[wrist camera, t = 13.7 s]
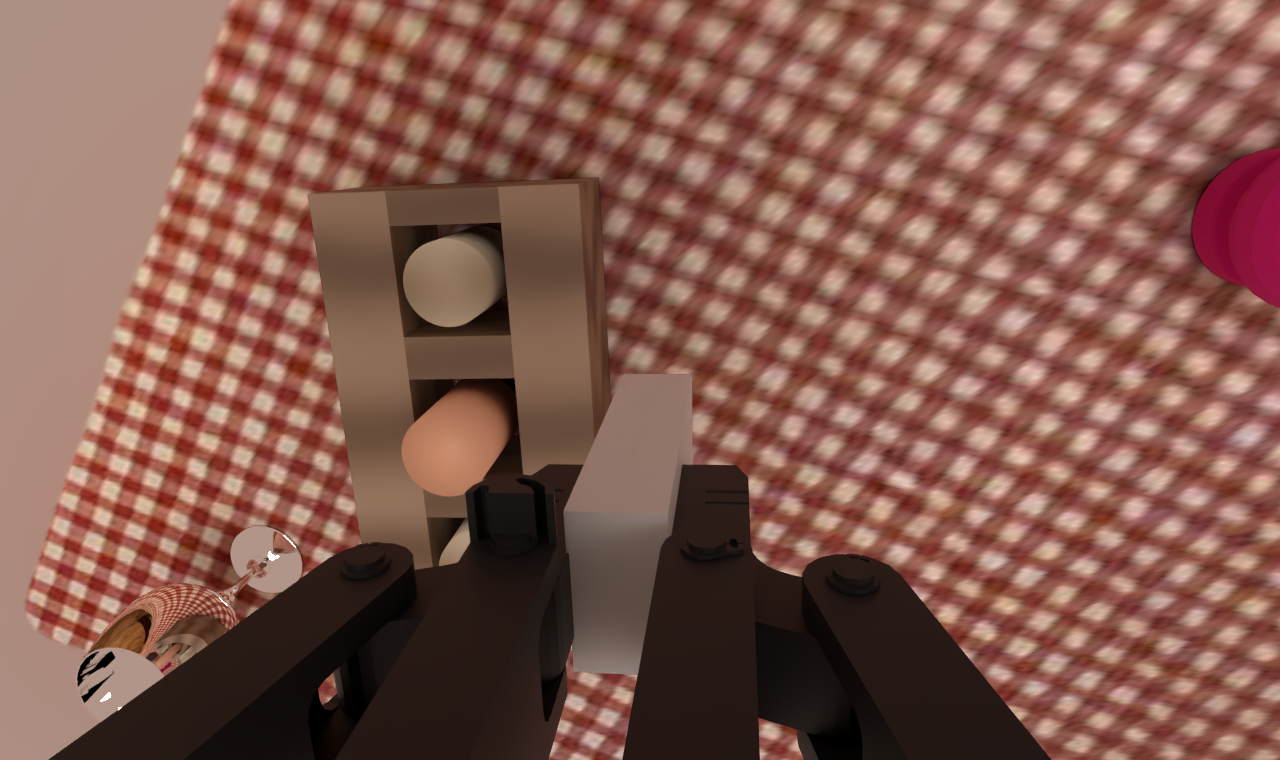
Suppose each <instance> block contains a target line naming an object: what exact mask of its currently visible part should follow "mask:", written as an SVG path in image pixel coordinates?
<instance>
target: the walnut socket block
mask: <svg viewBox="0 0 1280 760" xmlns="http://www.w3.org/2000/svg"><path fill="white" fill-rule="evenodd" d="M308 199H309V206H310V212H311V219H312V225H313V231H314V238H315V244H316V251H317V257H318V264H319V270H320V277H321V283H322V290H323V296H324V303H325V309H326V316H327V322H328V329H329V335H330V342H331V348H332V355H333V361H334V368H335V374H336V381H337V387H338V394H339V400H340V407H341V413H342V420H343V426H344V432H345V439H346V445H347V452H348V458H349V465H350V471H351V478H352V484H353V491H354V497H355V504H356V510H357V517H358V523H359V530H360V536H361V543H362V544H364V543H368V544H370V543H371V542H381V543H395V544H398V545H400V546H403V547H406V548H407V549H408V550H409V551H410V552H411V553H412V554H413V558H414V566H415V570H416V569H423V568H429V567H436V566H439V561H440V557H441V555H442V553H443V551H444V550H445V548H446V547H447V545H448V544H449V542H450V541H451V539H452V538H453V536H454V535H455V533H456V532H457V530H458V529H459V527H460V526H461V524H462V523H463V521H464V520H465V518H468V516H467V507H466V497H465V494H462V495H458V496H450V497H449V496H440V495H436V494H433V493H431V492H428V491H426V490H425V489H423V488H422V487H420V486H419V485H418V484H417V483H416V482H415V481H414V480H413V479H412V478H411V477H410V475H409V474H408V472H407V470H406V468H405V466H404V463H403V460H402V452H401V450H402V442H403V439H404V436H405V434H406V432H407V431H408V429H409V428H410V427H411V426H412V425H413V424H414V423H415V422H416V421H417V420H418V419H419V418H420V417H421V416H422V415H423V414H425V413H426V412H427V411H428V410H429V409H430V408H431V407H432V406H433V405H434V404H435V403H436V402H437V401H439V400H440V399H441V398H442V397H443V396H444V395H445V394H446V393H447V392H448V391H449V390H450V389H452V388H453V387H454V379H487V378H515V387H516V398H517V409H518V421H519V432H520V435H513V436H512V438H511V439H510V440H509V442H508V443H507V445H506V446H505V448H504V449H503V450H502V452H501V453H500V455H499V456H498V458H497V459H496V460H495V462H494V463H493V465H492V466H491V468H490V469H489V470H488V472H487V473H486V475H485V476H484V478H483V479H482V480H481V481H483V480H486V479H489V478H493V477H498V476H502V475H514V474H524V475H533V474H534V473H536V472H537V471H539V470H540V469H542V468H543V467H545V466H546V465H548V464H574V465H584V463H585V461H586V459H587V456H588V454H589V452H590V450H591V447H592V445H593V443H594V440H595V438H596V436H597V434H598V431H599V429H600V427H601V425H602V422H603V420H604V418H605V415H606V413H607V411H608V409H609V406H610V404H611V391H610V373H609V354H608V336H607V317H606V299H605V280H604V262H603V243H602V225H601V206H600V188H599V178H577V179H551V180H526V181H500V182H475V183H449V184H424V185H398V186H373V187H360V188H352V189H344V190H336V191H329V192H321V193H313V194H308ZM472 223H501V229H502V241H503V252H504V263H505V274H506V286H507V297H508V308H509V310H485V311H484V312H482V313H481V314H480V315H478V316H477V317H475V318H474V319H473V320H471V321H470V322H468V323H466V324H463V325H461V326H456V327H443V326H438V325H435V324H432V323H430V322H428V321H426V320H425V319H423V318H422V317H421V316H419V315H418V314H417V313H416V312H415V310H414V309H413V308H412V307H411V305H410V303H409V302H408V300H407V297H406V295H405V291H404V286H403V273H404V269H405V266H406V263H407V261H408V259H409V258H410V256H411V255H412V254H413V253H414V251H415V250H417V249H418V248H419V247H421V246H422V245H424V244H426V243H429V242H432V241H435V240H437V239H438V233H437V225H442V224H472Z"/></svg>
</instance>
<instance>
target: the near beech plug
mask: <svg viewBox="0 0 1280 760" xmlns="http://www.w3.org/2000/svg"><path fill="white" fill-rule="evenodd" d="M403 286H404V291H405V295H406V297H407V300H408V302H409V303H410V305H411V307H412V308H413V309H414V310H415V312H416V313H417V314H418V315H419V316H421V317H422V318H423V319H425V320H426V321H428V322H430V323H432V324H435V325H438V326H443V327H456V326H461V325H463V324H466V323H468V322H470V321H471V320H473V319H474V318H475V317H477V316H478V315H480V314H481V313H482V312H484V311H485V310H486V309H488V308H489V307H491V306H492V305H493V304H495V303H496V302H497V301H499V300H500V299H502V298H503V297H504V296H506V295H507V286H506V274H505V263H504V252H503V241H502V232H501V231H499V230H497V229H494V228H491V227H486V226H478V227H472V228H469V229H466V230H463V231H460V232H458V233H455V234H452V235H449V236H446V237H443V238H440V239H437V240H435V241H432V242H429V243H426V244H424V245H422V246H421V247H419V248H418V249H417V250H415V251H414V253H413V254H412V255H411V256H410V258H409V259H408V261H407V263H406V266H405V269H404V273H403Z"/></svg>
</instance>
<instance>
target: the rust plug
mask: <svg viewBox="0 0 1280 760" xmlns="http://www.w3.org/2000/svg"><path fill="white" fill-rule="evenodd" d="M518 426H519V421H518V409H517V398H516V395H515V393H514V392H513V391H512V389H511V388H510V387H509V386H508V385H507V384H505V383H504V382H503V381H501V380H499V379H497V378H487V379H462V380H461V381H459V382H458V383H457V384H456V385H455V386H454V387H453V388H452V389H450V390H449V391H448V392H447V393H446V394H445V395H444V396H443V397H442V398H441V399H440V400H439V401H437V402H436V403H435V404H434V405H433V406H432V407H431V408H430V409H429V410H428V411H427V412H426V413H425V414H423V415H422V416H421V417H420V418H419V419H418V420H417V421H416V422H415V423H414V424H413V425H412V426H411V427H410V428H409V429H408V431H407V432H406V434H405V436H404V439H403V442H402V450H401V452H402V460H403V463H404V466H405V468H406V470H407V472H408V474H409V475H410V477H411V478H412V479H413V480H414V481H415V482H416V483H417V484H418V485H419V486H420V487H422V488H423V489H425V490H426V491H428V492H431V493H433V494H436V495H440V496H449V497H450V496H458V495H462V494H465V492H466V491H467V490H468V489H469V488H470V487H472V486H473V485H474V484H476V483H479V482H481V480H482V479H483V478H484V476H485V475H486V473H487V472H488V470H489V469H490V468H491V466H492V465H493V463H494V462H495V460H496V459H497V458H498V456H499V455H500V453H501V452H502V450H503V449H504V448H505V446H506V445H507V443H508V442H509V440H510V439H511V438H512V436H513V435H514V433H515V432H516V430H517V428H518Z"/></svg>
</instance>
